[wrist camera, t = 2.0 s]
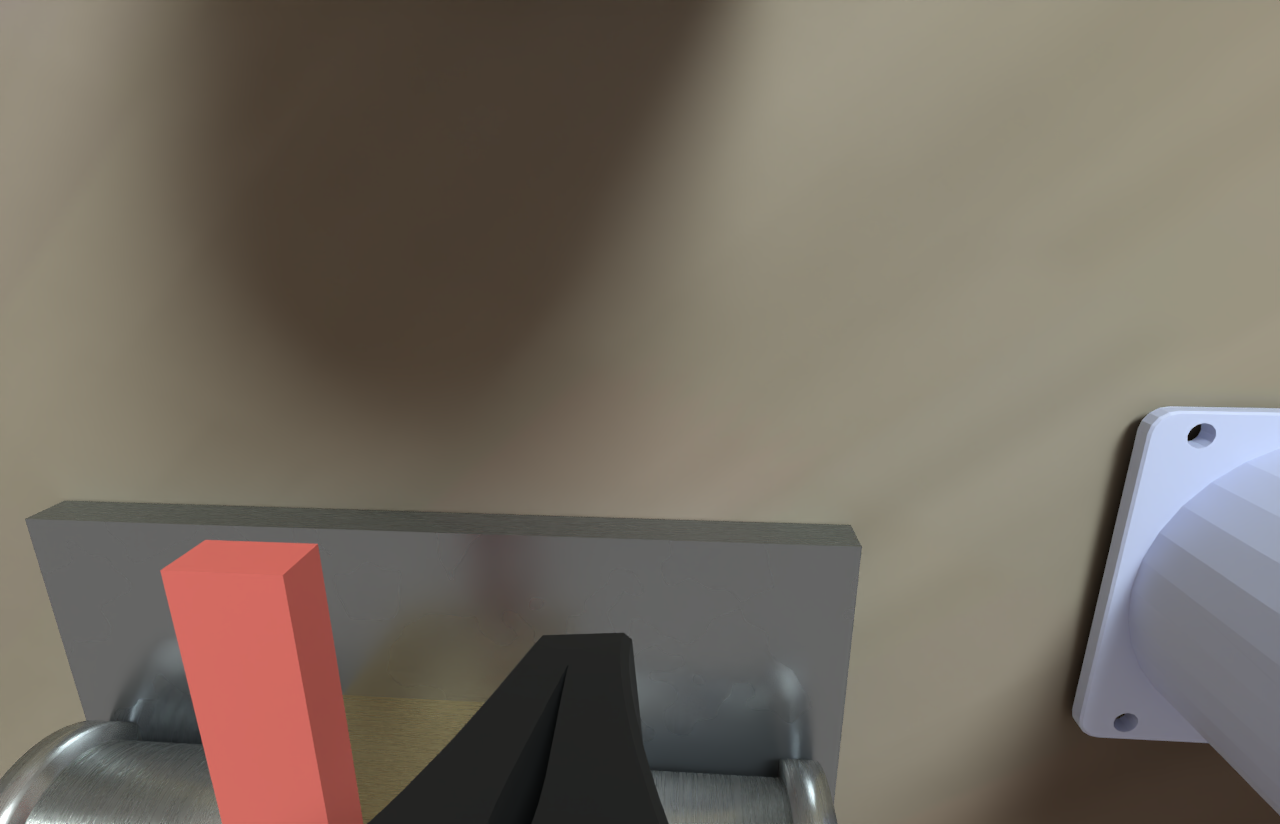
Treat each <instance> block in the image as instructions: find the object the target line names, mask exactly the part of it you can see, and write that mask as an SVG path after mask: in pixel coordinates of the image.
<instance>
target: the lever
mask: <svg viewBox="0 0 1280 824" xmlns="http://www.w3.org/2000/svg"><path fill="white" fill-rule="evenodd" d="M160 572H161V576H162V580H163V584H164V588H165V592H166V596H167V600H168V604H169V608H170V612H171V617H172V621H173V625H174V629H175V633H176V637H177V641H178V645H179V649H180V653H181V657H182V662H183V666H184V670H185V674H186V678H187V682H188V686H189V690H190V694H191V698H192V702H193V707H194V711H195V715H196V719H197V723H198V727H199V731H200V735H201V739H202V743H203V747H204V752H205V756H206V760H207V764H208V768H209V772H210V776H211V780H212V784H213V788H214V792H215V796H216V801H217V805H218V809H219V813H220V817H221V821H222V824H363V818H362V812H361V806H360V800H359V793H358V787H357V781H356V775H355V769H354V763H353V757H352V750H351V744H350V738H349V732H348V726H347V720H346V713H345V707H344V701H343V695H342V689H341V683H340V677H339V670H338V664H337V658H336V652H335V646H334V640H333V633H332V627H331V621H330V615H329V609H328V603H327V597H326V590H325V584H324V578H323V572H322V566H321V560H320V553H319V547H318V544H309V543H281V542H252V541H223V540H204V541H203V542H201V543H200V544H199V545H197V546H196V547H194V548H193V549H191V550H190V551H188V552H187V553H185V554H184V555H182V556H181V557H179V558H178V559H176V560H175V561H173V562H172V563H170V564H169V565H168V566H166V567H165V568H163V569H162V570H160Z"/></svg>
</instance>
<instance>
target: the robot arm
mask: <svg viewBox="0 0 1280 824" xmlns="http://www.w3.org/2000/svg"><path fill="white" fill-rule="evenodd" d="M1198 424H1201V431H1200V433H1199V434H1198V436H1197V437H1195V438H1194V439H1193V440H1191V441H1188V437H1187V436H1188V434H1189V432H1190V430H1191V429H1192V428H1193V427H1195V426H1196V425H1198ZM1121 714H1125V715H1124V716H1122V717H1121V718H1119V719H1116V717H1118V716H1120V715H1121ZM1072 717H1073V718H1074V720H1075V722H1076V723H1077V724H1078V726H1079V727H1080V728H1081V730H1082V731H1083V732H1084V733H1086V734H1087V735H1089V736H1093V737H1099V738H1119V739H1138V740H1157V741H1176V742H1196V743H1209V744H1210V745H1211V746H1212V747H1213V748H1214V749H1215V750H1216V751H1217V752H1218V753H1219V754H1220V755H1221V756H1222V757H1223V758H1224V759H1225V760H1226V761H1227V762H1228V763H1229V764H1230V765H1231V766H1232V767H1233V768H1234V769H1235V770H1236V771H1237V772H1238V773H1239V774H1240V776H1241V777H1242V778H1243V779H1244V780H1245V781H1246V782H1247V783H1248V784H1249V785H1250V786H1251V787H1252V788H1253V789H1254V790H1255V791H1256V792H1257V793H1258V794H1259V795H1260V796H1261V797H1262V798H1263V799H1264V800H1265V801H1266V802H1267V803H1268V804H1269V805H1270V806H1271V807H1272V808H1273V809H1274V810H1275V811H1276V812H1277V813H1278V814H1279V815H1280V408H1230V407H1175V406H1168V407H1162V408H1158V409H1156V410H1154V411H1152V412H1150V413H1148V414H1147V415H1146V416H1145V417H1144V419H1143V420H1142V421H1141V423H1140V425H1139V427H1138V430H1137V434H1136V438H1135V442H1134V447H1133V451H1132V455H1131V460H1130V464H1129V468H1128V472H1127V477H1126V481H1125V485H1124V490H1123V494H1122V498H1121V502H1120V507H1119V511H1118V515H1117V520H1116V524H1115V528H1114V532H1113V537H1112V541H1111V545H1110V549H1109V554H1108V558H1107V562H1106V567H1105V571H1104V575H1103V579H1102V584H1101V588H1100V592H1099V597H1098V601H1097V605H1096V609H1095V614H1094V618H1093V622H1092V627H1091V631H1090V635H1089V639H1088V644H1087V648H1086V652H1085V657H1084V661H1083V665H1082V669H1081V674H1080V678H1079V682H1078V686H1077V691H1076V695H1075V699H1074V704H1073V708H1072ZM367 824H669V823H668V820H667V817H666V815H665V812H664V809H663V806H662V803H661V801H660V798H659V795H658V792H657V789H656V785H655V782H654V779H653V776H652V773H651V770H650V767H649V763H648V760H647V756H646V753H645V749H644V746H643V737H642V728H641V718H640V709H639V700H638V690H637V681H636V672H635V662H634V653H633V644H632V639H631V638H630V637H629V636H627V635H626V634H625V633H594V634H563V635H543V636H542V637H541V638H540V639H539V640H538V641H537V642H536V643H535V644H534V645H533V646H532V648H531V649H530V650H529V651H528V652H527V653H526V655H525V656H524V657H523V658H522V659H521V661H520V662H519V663H518V664H517V665H516V667H515V668H514V669H513V670H512V671H511V673H510V674H509V675H508V676H507V677H506V679H505V680H504V681H503V682H502V683H501V684H500V686H499V687H498V688H497V689H496V690H495V691H494V693H493V694H492V695H491V696H490V697H489V698H488V700H487V701H486V702H485V703H484V704H483V705H482V706H481V708H480V709H479V710H478V711H477V712H476V713H475V714H474V715H473V716H472V718H471V719H470V720H469V721H468V722H467V723H466V724H465V725H464V727H463V728H462V729H461V730H460V731H459V732H458V733H457V734H456V736H455V737H454V738H453V739H452V740H451V741H450V742H449V743H448V744H447V745H446V746H445V747H444V748H443V750H442V751H441V752H440V753H439V754H438V755H437V756H436V757H435V758H434V759H433V760H432V761H431V762H430V763H429V764H428V765H427V766H426V767H425V768H424V769H423V770H422V771H421V772H420V773H419V774H418V775H417V776H416V777H415V778H414V779H413V780H412V781H411V782H410V783H409V784H408V785H407V786H406V787H405V788H404V789H403V790H402V791H401V792H400V793H399V794H398V795H397V796H396V797H395V798H394V799H393V800H392V801H391V802H390V803H389V804H388V805H387V806H386V807H385V808H384V809H383V810H382V811H381V812H379V813H378V814H377V815H376V816H375V817H374V818H373V819H372V820H371V821H370V822H369V823H367Z"/></svg>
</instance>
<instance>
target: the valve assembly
mask: <svg viewBox="0 0 1280 824" xmlns="http://www.w3.org/2000/svg"><path fill="white" fill-rule="evenodd" d="M25 520H26V524H27V527H28V530H29V533H30V537H31V540H32V543H33V547H34V550H35V553H36V556H37V560H38V563H39V566H40V569H41V573H42V576H43V579H44V583H45V586H46V589H47V592H48V596H49V599H50V602H51V606H52V609H53V612H54V615H55V619H56V622H57V625H58V629H59V632H60V635H61V638H62V642H63V645H64V648H65V651H66V655H67V658H68V661H69V665H70V668H71V671H72V674H73V678H74V681H75V684H76V688H77V691H78V694H79V697H80V701H81V704H82V707H83V710H84V714H85V717H86V720H87V721H83V722H78V723H75V724H72V725H69V726H66V727H64V728H62V729H60V730H58V731H56V732H54V733H52V734H51V735H49V736H47V737H46V738H44V739H43V740H41V741H40V742H39V743H37V744H36V745H35V746H33V747H32V748H31V749H30V750H29V751H27V752H26V753H25V754H24V755H23V756H22V757H21V758H20V759H19V760H18V761H17V762H16V763H15V764H14V765H13V766H12V767H11V768H10V769H9V770H8V771H7V772H6V773H5V775H4V776H3V777H2V778H1V779H0V824H222V821H221V817H220V813H219V809H218V805H217V801H216V796H215V792H214V788H213V784H212V780H211V776H210V772H209V768H208V764H207V760H206V756H205V752H204V747H203V743H202V739H201V735H200V731H199V727H198V723H197V719H196V715H195V711H194V707H193V702H192V698H191V694H190V690H189V686H188V682H187V678H186V674H185V670H184V666H183V662H182V657H181V653H180V649H179V645H178V641H177V637H176V633H175V629H174V625H173V621H172V617H171V612H170V608H169V604H168V600H167V596H166V592H165V588H164V584H163V580H162V576H161V572H160V570H162V569H163V568H165V567H166V566H168V565H169V564H170V563H172V562H173V561H175V560H176V559H178V558H179V557H181V556H182V555H184V554H185V553H187V552H188V551H190V550H191V549H193V548H194V547H196V546H197V545H199V544H200V543H201V542H203V541H204V540H223V541H252V542H281V543H309V544H318V547H319V553H320V560H321V566H322V572H323V578H324V584H325V590H326V597H327V603H328V609H329V615H330V621H331V627H332V633H333V640H334V646H335V652H336V658H337V664H338V670H339V677H340V683H341V689H342V695H343V701H344V707H345V713H346V720H347V726H348V732H349V738H350V744H351V750H352V757H353V763H354V769H355V775H356V781H357V787H358V793H359V800H360V806H361V812H362V818H363V824H367V823H369V822H370V821H371V820H372V819H373V818H374V817H375V816H376V815H377V814H378V813H379V812H381V811H382V810H383V809H384V808H385V807H386V806H387V805H388V804H389V803H390V802H391V801H392V800H393V799H394V798H395V797H396V796H397V795H398V794H399V793H400V792H401V791H402V790H403V789H404V788H405V787H406V786H407V785H408V784H409V783H410V782H411V781H412V780H413V779H414V778H415V777H416V776H417V775H418V774H419V773H420V772H421V771H422V770H423V769H424V768H425V767H426V766H427V765H428V764H429V763H430V762H431V761H432V760H433V759H434V758H435V757H436V756H437V755H438V754H439V753H440V752H441V751H442V750H443V748H444V747H445V746H446V745H447V744H448V743H449V742H450V741H451V740H452V739H453V738H454V737H455V736H456V734H457V733H458V732H459V731H460V730H461V729H462V728H463V727H464V725H465V724H466V723H467V722H468V721H469V720H470V719H471V718H472V716H473V715H474V714H475V713H476V712H477V711H478V710H479V709H480V708H481V706H482V705H483V704H484V703H485V702H486V701H487V700H488V698H489V697H490V696H491V695H492V694H493V693H494V691H495V690H496V689H497V688H498V687H499V686H500V684H501V683H502V682H503V681H504V680H505V679H506V677H507V676H508V675H509V674H510V673H511V671H512V670H513V669H514V668H515V667H516V665H517V664H518V663H519V662H520V661H521V659H522V658H523V657H524V656H525V655H526V653H527V652H528V651H529V650H530V649H531V648H532V646H533V645H534V644H535V643H536V642H537V641H538V640H539V639H540V638H541V637H542V636H543V635H563V634H594V633H625V634H626V635H627V636H629V637H630V638H631V639H632V644H633V653H634V662H635V672H636V681H637V690H638V700H639V709H640V718H641V728H642V737H643V746H644V749H645V753H646V756H647V760H648V763H649V767H650V770H651V773H652V776H653V779H654V782H655V785H656V789H657V792H658V795H659V798H660V801H661V803H662V806H663V809H664V812H665V815H666V817H667V820H668V823H669V824H837V819H836V815H835V810H834V796H835V787H836V778H837V768H838V759H839V750H840V741H841V732H842V723H843V714H844V704H845V695H846V686H847V677H848V668H849V659H850V650H851V640H852V631H853V622H854V613H855V604H856V595H857V586H858V576H859V567H860V558H861V549H862V546H861V545H860V543H859V541H858V539H857V537H856V535H855V533H854V531H853V529H852V527H851V525H825V524H793V523H761V522H729V521H697V520H665V519H633V518H600V517H568V516H536V515H504V514H472V513H440V512H408V511H376V510H344V509H312V508H279V507H247V506H215V505H183V504H151V503H119V502H87V501H63V502H61V503H59V504H56V505H54V506H52V507H50V508H48V509H46V510H43V511H41V512H39V513H37V514H35V515H33V516H30V517H28V518H26V519H25Z"/></svg>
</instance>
